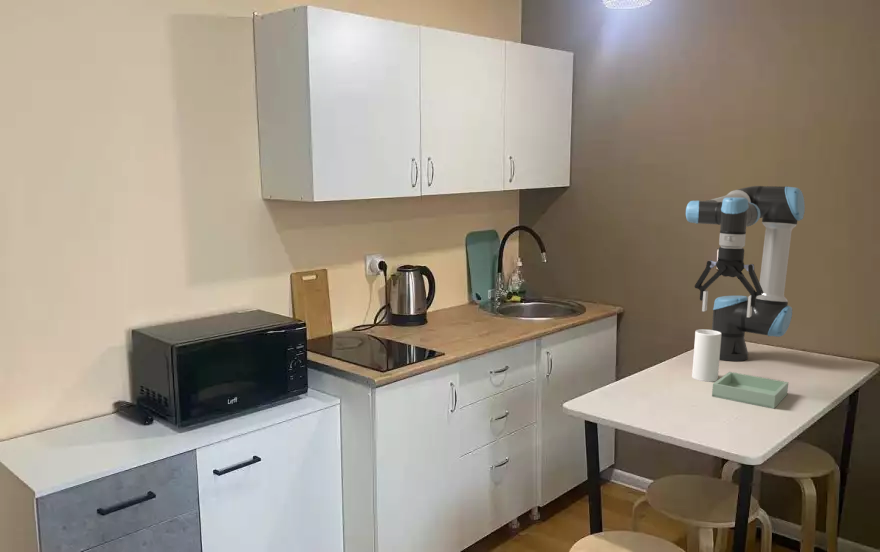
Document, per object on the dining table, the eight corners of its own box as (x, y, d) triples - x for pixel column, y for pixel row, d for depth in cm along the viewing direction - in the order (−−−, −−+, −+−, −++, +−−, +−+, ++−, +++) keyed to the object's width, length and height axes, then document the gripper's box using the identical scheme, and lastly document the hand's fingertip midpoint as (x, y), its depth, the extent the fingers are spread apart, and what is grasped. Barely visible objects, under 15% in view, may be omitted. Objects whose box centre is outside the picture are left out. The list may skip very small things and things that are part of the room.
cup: (713, 375, 248) (717, 329, 246) (720, 382, 240) (724, 335, 238) (689, 374, 249) (692, 328, 247) (695, 381, 241) (698, 334, 239)
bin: (728, 383, 239) (729, 371, 238) (787, 394, 228) (788, 382, 228) (711, 396, 225) (712, 383, 224) (773, 408, 214) (775, 395, 214)
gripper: (687, 244, 230) (683, 310, 233) (771, 251, 215) (765, 321, 218) (694, 243, 236) (690, 306, 239) (777, 249, 221) (771, 317, 224)
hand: (726, 313), depth 229 cm, fingers open, 13 cm apart
